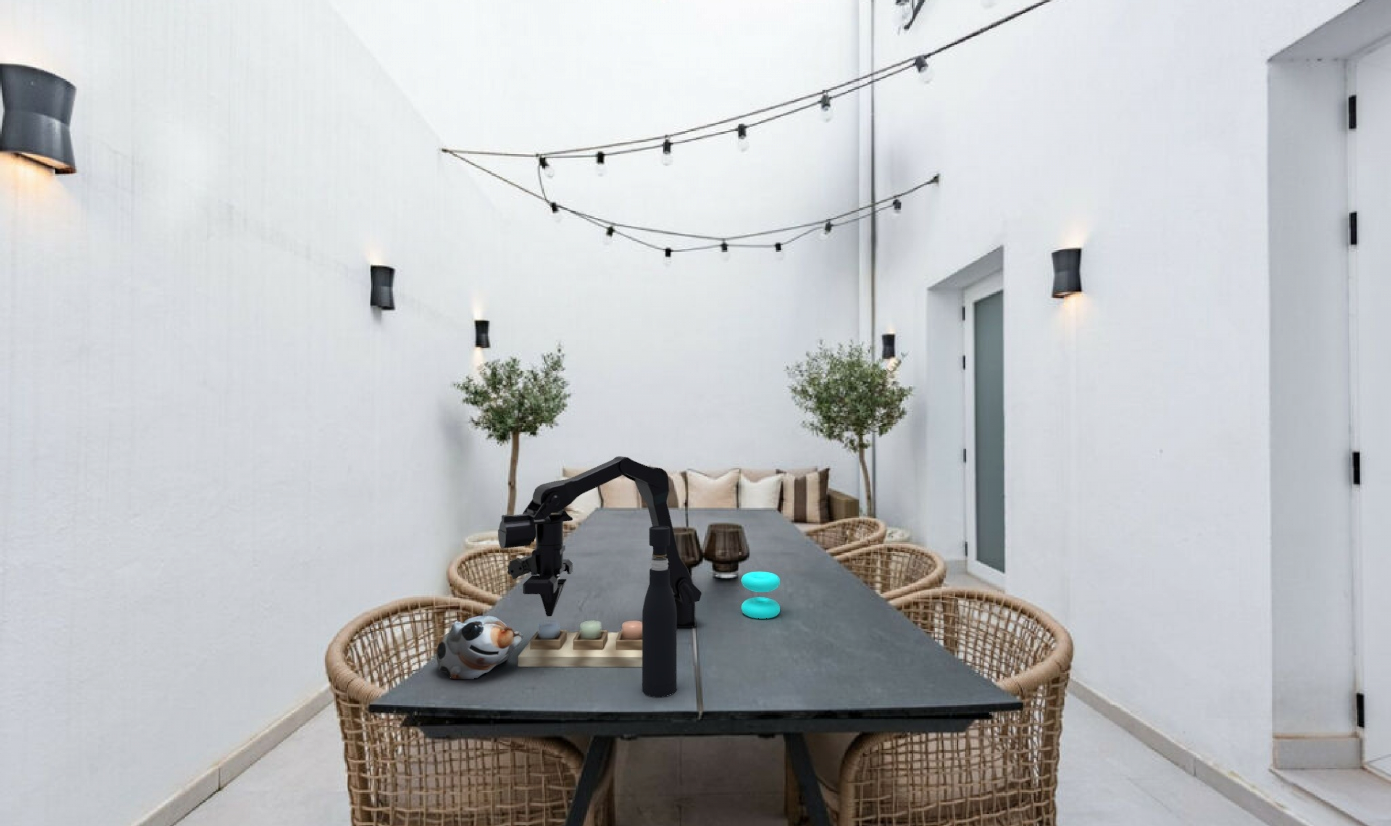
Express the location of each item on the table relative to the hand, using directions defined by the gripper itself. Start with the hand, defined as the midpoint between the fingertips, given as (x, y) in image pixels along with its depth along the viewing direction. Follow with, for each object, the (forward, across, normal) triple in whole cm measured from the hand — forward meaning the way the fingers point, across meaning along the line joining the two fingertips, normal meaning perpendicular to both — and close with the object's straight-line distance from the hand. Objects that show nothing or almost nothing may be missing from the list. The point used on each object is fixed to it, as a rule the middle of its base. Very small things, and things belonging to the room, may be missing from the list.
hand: (549, 615), depth 129 cm
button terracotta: (+4, 0, +18) cm, 18 cm away
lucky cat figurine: (+8, +8, -12) cm, 17 cm away
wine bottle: (+8, +17, +25) cm, 31 cm away
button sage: (+4, 0, +9) cm, 10 cm away
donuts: (+8, -27, +48) cm, 56 cm away
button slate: (+4, 0, 0) cm, 4 cm away
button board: (+8, 0, +9) cm, 12 cm away
